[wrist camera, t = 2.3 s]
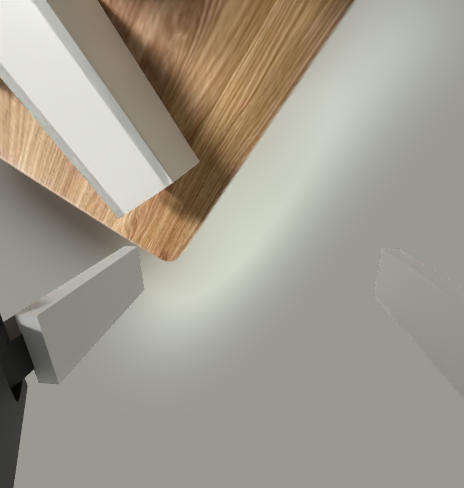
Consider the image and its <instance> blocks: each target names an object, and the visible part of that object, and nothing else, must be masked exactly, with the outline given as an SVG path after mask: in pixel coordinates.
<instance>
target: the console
mask: <svg viewBox="0 0 464 488" xmlns="http://www.w3.org/2000/svg"><path fill="white" fill-rule="evenodd" d="M0 78H1V79H2V80H3V81H4V82H5V84H6V85H7V86H8V87H9V88H10V90H11V91H12V92H13V93H14V94H15V96H16V97H17V98H18V99H19V100H20V102H21V103H22V104H23V105H24V106H25V107H26V109H27V110H28V111H29V112H30V113H31V115H32V116H33V117H34V118H35V119H36V121H37V122H38V123H39V124H40V125H41V127H42V128H43V129H44V130H45V131H46V132H47V134H48V135H49V136H50V137H51V138H52V140H53V141H54V142H55V143H56V144H57V146H58V147H59V148H60V149H61V150H62V152H63V153H64V154H65V155H66V156H67V157H68V159H69V160H70V161H71V162H72V163H73V165H74V166H75V167H76V168H77V169H78V171H79V172H80V173H81V174H82V175H83V177H84V178H85V179H86V180H87V181H88V183H89V184H90V185H91V186H92V187H93V188H94V190H95V191H96V192H97V193H98V194H99V196H100V197H101V198H102V199H103V200H104V202H105V203H106V204H107V205H108V206H109V208H110V209H111V210H112V211H113V212H114V213H115V215H116V216H117V217H118V218H120V217H122V216H123V215H125V214H126V213H128V212H130V211H131V210H133V209H134V208H136V207H137V206H139V205H140V204H142V203H143V202H145V201H146V200H148V199H149V198H151V197H152V196H154V195H155V194H157V193H158V192H160V191H161V190H163V189H164V188H166V187H167V186H169V185H170V184H172V183H173V182H175V181H176V180H177V179H179V178H180V177H181V176H183V175H184V174H185V173H186V172H188V171H189V170H190V169H192V168H193V167H194V166H196V165H197V164H198V163H200V161H199V160H198V158H197V156H196V155H195V153H194V152H193V150H192V149H191V147H190V145H189V144H188V142H187V141H186V139H185V138H184V136H183V134H182V133H181V131H180V130H179V128H178V126H177V125H176V123H175V122H174V120H173V119H172V117H171V115H170V114H169V112H168V111H167V109H166V108H165V106H164V104H163V103H162V101H161V100H160V98H159V96H158V95H157V93H156V92H155V90H154V89H153V87H152V85H151V84H150V82H149V81H148V79H147V78H146V76H145V74H144V73H143V71H142V70H141V68H140V66H139V65H138V63H137V62H136V60H135V59H134V57H133V55H132V54H131V52H130V51H129V49H128V48H127V46H126V44H125V43H124V41H123V40H122V38H121V37H120V35H119V33H118V32H117V30H116V29H115V27H114V25H113V24H112V22H111V21H110V19H109V18H108V16H107V14H106V13H105V11H104V10H103V8H102V7H101V5H100V3H99V2H98V0H0Z"/></svg>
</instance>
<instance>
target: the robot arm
mask: <svg viewBox="0 0 464 488" xmlns="http://www.w3.org/2000/svg"><path fill="white" fill-rule="evenodd" d="M143 290H144V285H143V279H142V272H141V266H140V260H139V254H138V247H137V246H124V247H123V248H121V249H119V250H118V251H116V252H115V253H113V254H111V255H110V256H108V257H107V258H105V259H103V260H102V261H100V262H99V263H97V264H95V265H94V266H92V267H91V268H89V269H87V270H86V271H84V272H82V273H81V274H79V275H78V276H76V277H74V278H73V279H71V280H70V281H68V282H67V283H65V284H63V285H62V286H60V287H58V288H57V289H55V290H54V291H52V292H50V293H49V294H48V295H46V296H44V297H42V298H41V299H39V300H38V301H36V302H35V303H33V304H31V305H30V306H28V307H26V308H25V309H23V310H22V311H20V312H19V313H17V314H15V315H14V316H13V317H11V318H9V319H8V320H6V321H4V322H3V320H2V317H1V315H0V488H13V486H14V479H15V472H16V465H17V458H18V451H19V443H20V436H21V429H22V422H23V415H24V408H25V400H26V393H27V383H26V380H25V377H26V376H27V375H28V374H29V373H30V372H31V371H32V370H34V371H35V373H36V376H37V379H38V382H39V383H49V384H60V383H61V381H62V380H63V379H64V378H65V377H66V376H67V375H68V374H69V373H70V371H71V370H72V369H73V368H74V367H75V366H76V365H77V364H78V363H79V361H80V360H81V359H82V358H83V357H84V356H85V354H86V353H88V351H89V350H90V349H91V348H92V347H93V346H94V345H95V344H96V342H97V341H98V340H99V339H100V338H101V337H102V336H103V334H104V333H105V332H106V331H107V330H108V329H109V328H110V327H111V326H112V325H113V324H114V323H115V321H116V320H117V319H118V318H119V317H120V316H121V315H122V314H123V313H124V311H125V310H126V309H127V308H128V307H129V306H130V305H131V304H132V303H133V301H134V300H135V299H136V298H137V297H138V296H139V295H140V294H141V292H142V291H143ZM374 297H375V298H376V299H377V300H378V301H379V303H381V305H382V306H383V307H384V308H385V309H386V311H387V312H388V313H389V314H390V315H391V316H392V318H393V319H394V320H395V321H396V322H397V323H398V324H399V326H400V327H401V328H402V329H403V330H404V331H405V332H406V334H407V335H408V336H409V337H410V338H411V339H412V340H413V342H414V343H415V344H416V345H417V346H418V347H419V349H420V350H421V351H422V352H423V353H424V354H425V355H426V356H427V358H428V359H429V360H430V361H431V362H432V363H433V364H434V366H435V367H436V368H437V369H438V370H439V371H440V373H441V374H442V375H443V376H444V377H445V378H446V380H447V381H448V382H449V383H450V384H451V385H452V386H453V388H454V389H455V390H456V391H457V392H458V393H459V394H460V396H461V397H462V398H463V399H464V288H462V287H460V286H459V285H457V284H456V283H454V282H452V281H451V280H449V279H447V278H446V277H444V276H442V275H440V274H439V273H438V272H436V271H434V270H433V269H431V268H429V267H428V266H426V265H424V264H423V263H421V262H419V261H418V260H416V259H415V258H413V257H411V256H409V255H408V254H406V253H404V252H403V251H401V250H400V249H398V248H382V251H381V257H380V262H379V268H378V273H377V279H376V285H375V290H374Z"/></svg>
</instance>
